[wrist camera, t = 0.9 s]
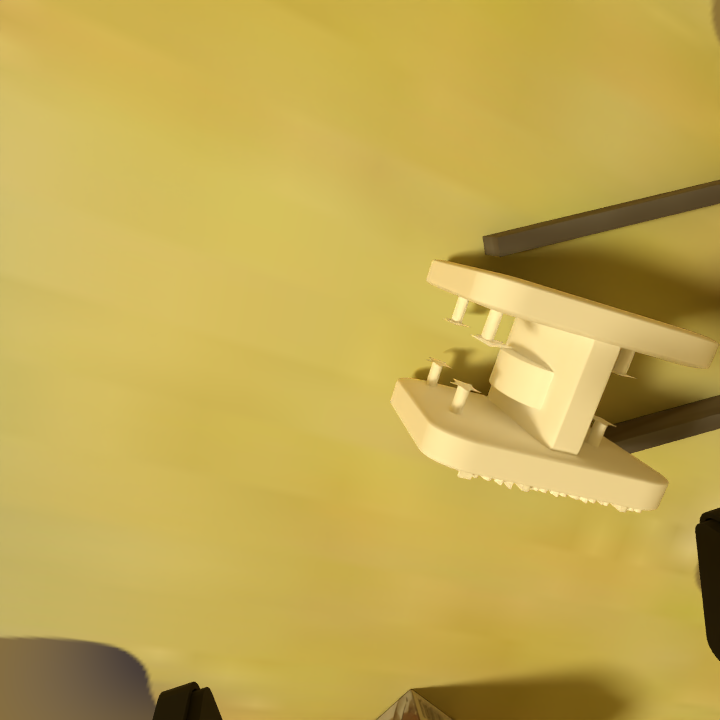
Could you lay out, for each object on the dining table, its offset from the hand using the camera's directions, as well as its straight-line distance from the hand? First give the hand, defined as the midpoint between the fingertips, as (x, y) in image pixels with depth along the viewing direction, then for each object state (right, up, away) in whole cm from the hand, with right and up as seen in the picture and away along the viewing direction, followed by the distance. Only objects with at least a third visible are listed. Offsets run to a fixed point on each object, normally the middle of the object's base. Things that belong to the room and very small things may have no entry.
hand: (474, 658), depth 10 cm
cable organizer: (+8, +6, +28) cm, 30 cm away
